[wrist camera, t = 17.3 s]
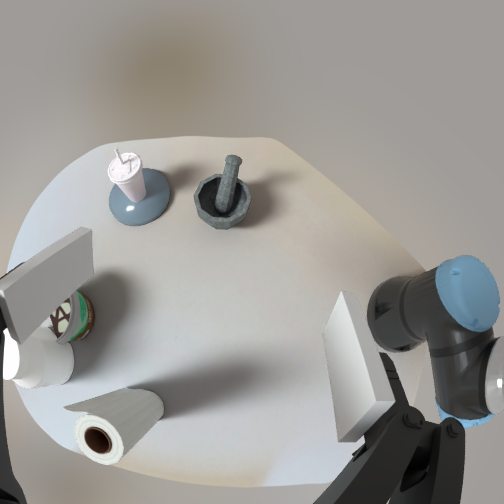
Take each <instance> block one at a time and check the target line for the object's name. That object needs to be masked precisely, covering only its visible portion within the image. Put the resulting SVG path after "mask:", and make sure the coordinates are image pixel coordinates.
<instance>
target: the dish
mask: <svg viewBox="0 0 504 504" xmlns="http://www.w3.org/2000/svg"><path fill="white" fill-rule="evenodd" d="M142 174H143V179H144V184H145V189H146V196H145V198H144V199H143V200H142V201H140V202H137V203H135V202H132V201H131V200H130V199H129V198H128V197H127V196H126V195H125V193H124V192H123V191H122V190H121V189H120V187H119V186H118V185H117V184H115V185H114V187H113V188H112V191H111V193H110V197H109V206H110V209H111V212H112V213H113V215H114V216H115V218H116V219H117V220H118V221H120V222H121V223H123V224H125V225H129V226H141V225H145V224H147V223H150V222H152V221H153V220H155V219H156V218H158V217H159V216H160V215H161V214H162V213H163V211H164V210H165V209H166V207H167V205H168V203H169V199H170V187H169V184H168V181H167V179H166V178H165V176H164V175H163V174H161V173H160V172H158V171H156V170H154V169H149V168H142Z"/></svg>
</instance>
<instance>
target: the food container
mask: <svg viewBox="0 0 504 504" xmlns="http://www.w3.org/2000/svg"><path fill="white" fill-rule="evenodd" d="M50 318H51V321H52V323H53V327H54V330H55V333H56V336H57V340H55V342H57V343H58V344H60V345H64V344H65V343H67V342H68V341H73V340H82V339H83V338H85V337H86V336H87V335H88V334H89V333H90V332H91V329H92V327H93V325H94V318H95V314H94V308H93V305H92V303H91V301H90V300H89V299H88V298H87V297H86V296H85V295H83V294H82V293H81V292H79V291H78V290H76V291H75V292H74V293H73V294H72V295H71V296H69V297H68V298H67V299H66V300H65V301H64V302H63V303H62V304H61V305H60V306H59V307H58V308H57V309H56V310H55V311H54V312H53V313H52V314H51V315H50Z"/></svg>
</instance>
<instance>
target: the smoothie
mask: <svg viewBox="0 0 504 504" xmlns="http://www.w3.org/2000/svg"><path fill="white" fill-rule="evenodd" d="M114 150H115V153H116V155H117V157H116V158H115V159H113V160H112V162H111V163H110V165H109V167H108V175H109V177H110V179H111V181H112V182H114V183H116V184H117V185H118V186H119V187H120V189H121V190H122V191H123V192H124V193H125V195H126V196H127V197H128V198H129V199H130V200H131V201H132V202H135V203H137V202H140V201H142V200H143V199H144V198H145V196H146V189H145V184H144V179H143V174H142V166H143V164H142V161H141V159H140V157H139V156H138V155H137V154H135V153H130V152H128V153H123V154H121V155H120V153H119V151H118V149H117V147H115V148H114Z"/></svg>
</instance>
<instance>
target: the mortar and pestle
mask: <svg viewBox="0 0 504 504" xmlns="http://www.w3.org/2000/svg"><path fill="white" fill-rule="evenodd" d="M225 161H226V165H225V168H224V172H223V174H215V175H213V176H211V177H209V178H207V179H205V180H203V181H201V182H200V184H199V186H198V188H197V190H196V192H195V194H194V201H195V205H196V208H197V212H198V215H199V217H200V218H201V219H202V220H204V221H205V222H206V223H208V224H209V225H210V226H212V227H214V228H215V229H224V230H227V229H228V228H230V227H232V226H234V225H235V224H237V223H238V222H240V221H242V220H243V219H244V217H245V215H246V213H247V210H248V208H249V205H250V203H251V195H250V193H249V190H248V187H247V184H246V183H244V182H243V181H241V180H240V179H238V178H237V177H238V171H239V166H240V165H241V163H242V159H241V158H240V157H238V156H236V155H228V156H227V157H226V159H225Z"/></svg>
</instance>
